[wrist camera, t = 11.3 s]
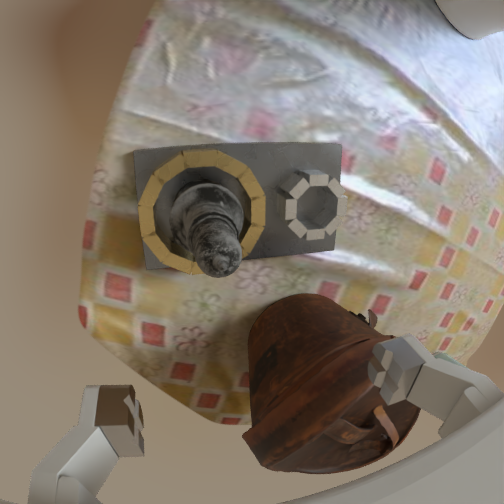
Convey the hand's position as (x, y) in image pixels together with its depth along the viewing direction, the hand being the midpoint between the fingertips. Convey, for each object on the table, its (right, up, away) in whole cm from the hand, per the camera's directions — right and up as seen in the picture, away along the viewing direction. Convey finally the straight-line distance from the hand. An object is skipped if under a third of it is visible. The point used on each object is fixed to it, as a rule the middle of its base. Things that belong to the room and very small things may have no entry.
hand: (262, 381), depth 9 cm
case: (+6, -6, +29) cm, 30 cm away
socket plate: (-1, +9, +20) cm, 22 cm away
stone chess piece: (-5, +8, +18) cm, 21 cm away
